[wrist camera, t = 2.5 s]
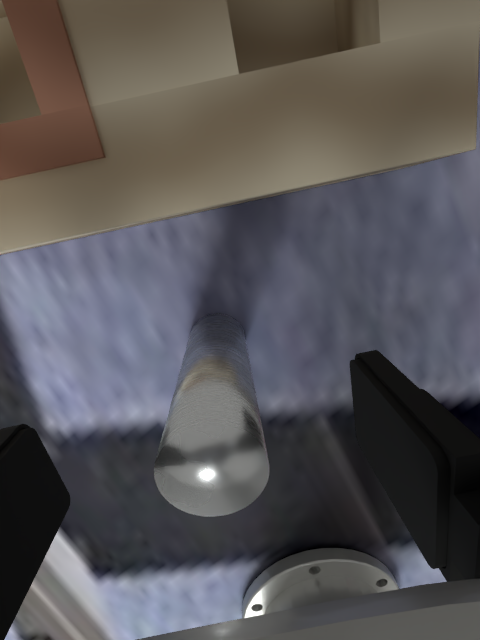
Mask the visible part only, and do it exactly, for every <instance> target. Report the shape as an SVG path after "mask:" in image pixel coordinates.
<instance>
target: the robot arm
mask: <svg viewBox="0 0 480 640" xmlns="http://www.w3.org/2000/svg"><path fill="white" fill-rule="evenodd" d="M350 373H351V384H352V396H353V407H354V418H355V430H356V437H357V441H358V444H359V446H360V448H361V450H362V451H363V453H364V455H365V457H366V458H367V460H368V462H369V464H370V465H371V467H372V469H373V470H374V472H375V474H376V476H377V477H378V479H379V481H380V482H381V484H382V486H383V488H384V489H385V491H386V493H387V494H388V496H389V498H390V500H391V501H392V503H393V505H394V506H395V508H396V510H397V512H398V513H399V515H400V517H401V519H402V520H403V522H404V524H405V525H406V527H407V529H408V531H409V532H410V534H411V536H412V537H413V539H414V541H415V543H416V544H417V546H418V548H419V549H420V551H421V553H422V555H423V556H424V558H425V560H426V561H427V563H428V564H429V566H430V567H431V568H433V569H435V568H439V569H440V571H441V572H442V574H443V576H444V577H445V579H446V581H447V582H442V583H434V584H425V585H419V586H414V587H408V588H402V589H399V587H398V585H397V583H396V581H395V578H394V576H393V575H392V573H391V572H390V571H389V569H388V568H387V567H386V566H385V565H384V564H383V563H381V562H380V561H379V560H378V559H376V558H374V557H372V556H370V555H368V554H365V553H362V552H359V551H355V550H352V549H343V548H319V549H313V550H307V551H303V552H300V553H297V554H294V555H290V556H288V557H286V558H284V559H282V560H280V561H278V562H276V563H275V564H273V565H272V566H270V567H269V568H267V569H266V570H264V571H263V572H262V573H261V574H260V575H259V576H258V577H257V578H256V579H255V580H254V581H253V583H252V584H251V586H250V587H249V588H248V590H247V592H246V595H245V597H244V599H243V605H242V619H237V620H232V621H227V622H222V623H217V624H212V625H207V626H202V627H197V628H192V629H187V630H182V631H177V632H172V633H167V634H162V635H157V636H152V637H147V638H142V639H137V640H480V439H479V438H478V437H477V436H476V435H475V434H474V433H472V432H471V431H470V430H469V429H468V428H467V427H466V426H465V425H464V424H462V423H461V422H460V421H459V420H458V419H457V418H456V417H455V416H454V415H452V414H451V413H450V412H449V411H448V410H447V409H446V408H445V407H444V406H442V405H441V404H440V403H439V402H438V401H437V400H436V399H435V398H434V397H432V396H431V395H430V394H429V393H428V392H426V391H425V390H423V389H419V388H418V387H417V386H416V385H415V384H414V383H412V382H411V381H410V380H409V379H408V378H407V377H406V376H405V375H404V374H403V373H402V372H400V371H399V370H398V369H397V368H396V367H395V366H394V365H393V364H392V363H391V362H390V361H389V360H387V359H386V358H385V357H384V356H383V355H382V354H381V353H380V352H379V351H377V350H374V351H369V352H364V353H359V354H356V356H355V360H351V361H350ZM69 506H70V495H69V492H68V491H67V489H66V487H65V485H64V483H63V481H62V479H61V477H60V475H59V474H58V472H57V470H56V468H55V466H54V464H53V462H52V460H51V458H50V457H49V455H48V453H47V451H46V449H45V447H44V445H43V443H42V441H41V440H40V438H39V436H38V434H37V432H36V431H35V429H33V428H30V427H29V426H28V425H26V424H21V425H17V426H12V427H7V428H3V429H1V430H0V640H4V639H5V637H6V635H7V633H8V631H9V629H10V627H11V625H12V623H13V621H14V619H15V617H16V615H17V613H18V610H19V608H20V606H21V604H22V602H23V600H24V598H25V596H26V594H27V592H28V590H29V588H30V586H31V584H32V582H33V580H34V578H35V576H36V574H37V572H38V570H39V568H40V566H41V564H42V562H43V560H44V557H45V555H46V553H47V551H48V549H49V547H50V545H51V543H52V541H53V539H54V537H55V535H56V533H57V531H58V529H59V527H60V525H61V523H62V521H63V519H64V517H65V515H66V513H67V511H68V508H69Z"/></svg>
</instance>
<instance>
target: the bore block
mask: <svg viewBox="0 0 480 640" xmlns="http://www.w3.org/2000/svg"><path fill="white" fill-rule="evenodd" d="M479 32H480V0H0V255H2V254H7V253H12V252H16V251H21V250H26V249H30V248H35V247H40V246H44V245H49V244H54V243H58V242H63V241H68V240H72V239H77V238H81V237H86V236H91V235H95V234H100V233H105V232H109V231H114V230H119V229H123V228H128V227H133V226H137V225H142V224H147V223H151V222H156V221H161V220H165V219H170V218H174V217H179V216H184V215H188V214H193V213H198V212H202V211H207V210H212V209H216V208H221V207H226V206H230V205H235V204H240V203H244V202H249V201H254V200H258V199H263V198H268V197H272V196H277V195H281V194H286V193H291V192H295V191H300V190H305V189H309V188H314V187H319V186H323V185H328V184H333V183H337V182H342V181H347V180H351V179H356V178H361V177H365V176H370V175H375V174H379V173H384V172H388V171H393V170H398V169H402V168H406V167H410V166H413V165H417V164H421V163H425V162H429V161H432V160H436V159H440V158H444V157H448V156H451V155H455V154H459V153H463V152H467V151H470V150H474V149H476V129H477V97H478V64H479Z"/></svg>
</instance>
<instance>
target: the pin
mask: <svg viewBox="0 0 480 640" xmlns="http://www.w3.org/2000/svg"><path fill="white" fill-rule="evenodd" d="M154 476H155V481H156V485H157V487H158V489H159V491H160V492H161V494H162V495H163V496H164V498H165V499H166V500H167V501H168V502H170V503H171V504H172V505H173V506H175V507H176V508H178V509H180V510H182V511H184V512H187V513H190V514H194V515H198V516H208V517H212V516H223V515H227V514H231V513H234V512H237V511H239V510H241V509H243V508H245V507H247V506H248V505H250V504H251V503H252V502H253V501H255V500H256V499H257V498H258V497H259V495H260V494H261V493H262V491H263V490H264V488H265V486H266V484H267V481H268V477H269V461H268V456H267V450H266V445H265V440H264V434H263V429H262V424H261V418H260V413H259V408H258V402H257V397H256V392H255V387H254V381H253V376H252V371H251V365H250V360H249V355H248V349H247V344H246V339H245V334H244V331H243V328H242V327H241V325H240V324H239V323H238V322H237V321H236V320H235V319H234V318H232V317H230V316H228V315H225V314H210V315H207V316H204V317H203V318H201V319H200V320H198V321H197V322H196V323H195V325H194V326H193V328H192V330H191V333H190V336H189V340H188V344H187V347H186V351H185V355H184V358H183V362H182V366H181V369H180V373H179V377H178V380H177V384H176V388H175V391H174V395H173V399H172V402H171V406H170V410H169V414H168V417H167V421H166V425H165V428H164V432H163V436H162V439H161V443H160V447H159V450H158V454H157V458H156V461H155V466H154Z"/></svg>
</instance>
